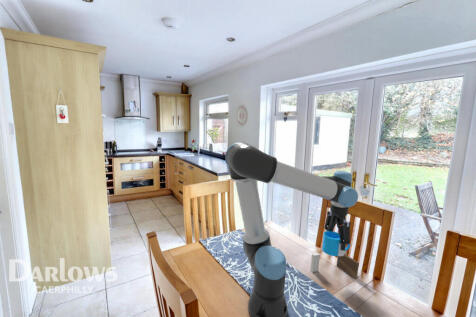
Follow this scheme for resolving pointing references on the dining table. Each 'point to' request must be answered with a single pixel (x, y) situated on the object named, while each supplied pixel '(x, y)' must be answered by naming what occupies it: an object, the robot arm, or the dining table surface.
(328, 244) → the mug
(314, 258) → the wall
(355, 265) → the dark brown rectangular slab
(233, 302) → the dining table surface
